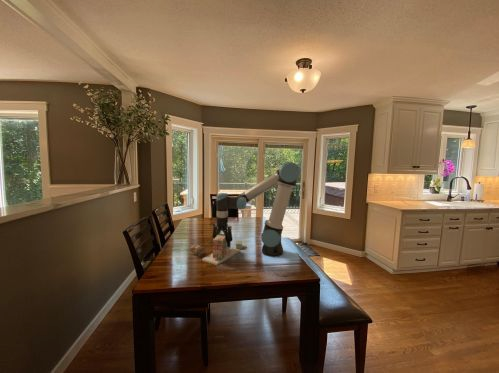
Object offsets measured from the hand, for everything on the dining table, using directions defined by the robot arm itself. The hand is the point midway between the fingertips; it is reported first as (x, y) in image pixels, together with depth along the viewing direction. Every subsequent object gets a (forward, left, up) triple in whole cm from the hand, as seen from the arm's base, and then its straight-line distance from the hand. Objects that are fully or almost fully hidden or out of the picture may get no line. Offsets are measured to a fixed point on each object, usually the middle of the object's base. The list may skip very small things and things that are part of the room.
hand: (222, 249), depth 153 cm
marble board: (0, 0, -4) cm, 4 cm away
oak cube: (+18, +7, -4) cm, 20 cm away
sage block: (-1, -19, -4) cm, 20 cm away
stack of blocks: (0, 0, -2) cm, 2 cm away
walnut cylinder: (+11, +8, -4) cm, 14 cm away
